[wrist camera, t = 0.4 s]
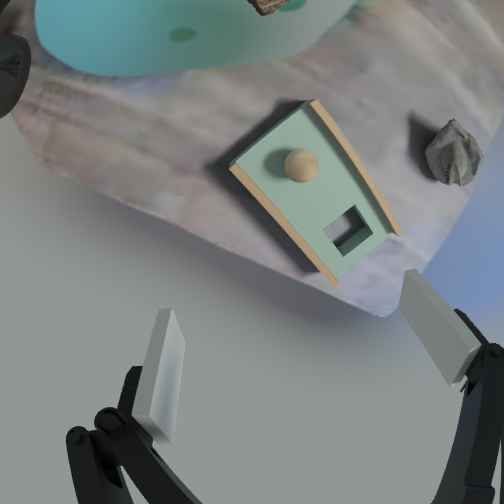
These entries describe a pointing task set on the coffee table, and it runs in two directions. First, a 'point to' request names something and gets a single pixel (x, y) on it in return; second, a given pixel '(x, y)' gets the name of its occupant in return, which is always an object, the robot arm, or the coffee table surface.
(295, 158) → the ball
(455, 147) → the fossil
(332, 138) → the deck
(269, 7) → the rock
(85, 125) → the coffee table surface
